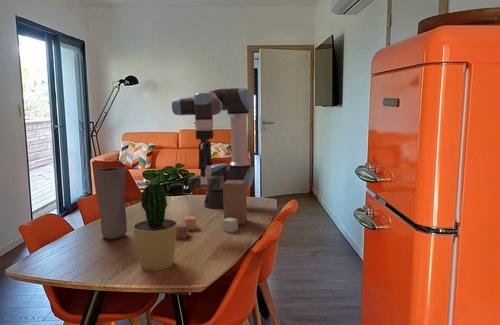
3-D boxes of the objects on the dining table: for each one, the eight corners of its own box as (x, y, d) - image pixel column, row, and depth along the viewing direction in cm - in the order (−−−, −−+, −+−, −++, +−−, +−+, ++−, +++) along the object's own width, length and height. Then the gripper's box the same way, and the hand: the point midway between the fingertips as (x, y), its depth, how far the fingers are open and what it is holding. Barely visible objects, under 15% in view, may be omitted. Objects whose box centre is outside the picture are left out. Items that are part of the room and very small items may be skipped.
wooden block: (247, 219, 205) (246, 179, 202) (244, 225, 195) (244, 183, 192) (227, 219, 206) (226, 179, 203) (223, 225, 196) (222, 183, 193)
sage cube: (228, 228, 192) (228, 217, 191) (237, 229, 189) (237, 218, 188) (222, 231, 187) (222, 220, 187) (231, 232, 185) (231, 221, 184)
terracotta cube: (183, 227, 194) (183, 217, 193) (194, 226, 195) (193, 215, 195) (185, 230, 189) (185, 219, 188) (196, 229, 191) (196, 218, 190)
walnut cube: (175, 234, 183) (175, 223, 182) (187, 234, 183) (186, 223, 183) (174, 238, 178) (174, 227, 177) (186, 238, 178) (185, 226, 178)
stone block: (194, 185, 187) (194, 174, 186) (225, 186, 184) (225, 175, 183) (187, 189, 178) (187, 177, 177) (220, 190, 175) (220, 178, 175)
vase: (93, 237, 180) (88, 169, 176) (119, 231, 189) (115, 166, 185) (107, 244, 172) (103, 172, 168) (134, 236, 181) (130, 168, 177)
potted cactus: (182, 256, 157) (178, 177, 153) (175, 272, 142) (171, 185, 137) (141, 257, 157) (136, 178, 152) (130, 273, 141) (124, 186, 137)
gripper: (201, 128, 188) (202, 177, 191) (189, 131, 167) (191, 186, 170) (217, 128, 187) (218, 177, 190) (208, 131, 166) (209, 186, 169)
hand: (206, 182), depth 180 cm, fingers closed on stone block, 8 cm apart
